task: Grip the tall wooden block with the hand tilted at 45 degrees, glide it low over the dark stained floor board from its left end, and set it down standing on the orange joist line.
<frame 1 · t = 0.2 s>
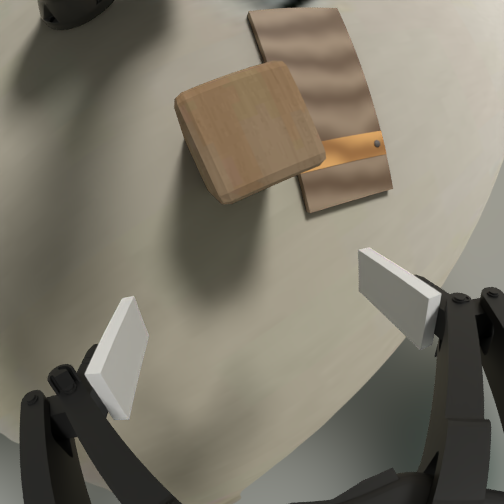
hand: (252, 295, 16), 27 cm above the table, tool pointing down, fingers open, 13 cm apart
wooden block: (228, 150, 40), on the table
floor board: (324, 97, 40), on the table
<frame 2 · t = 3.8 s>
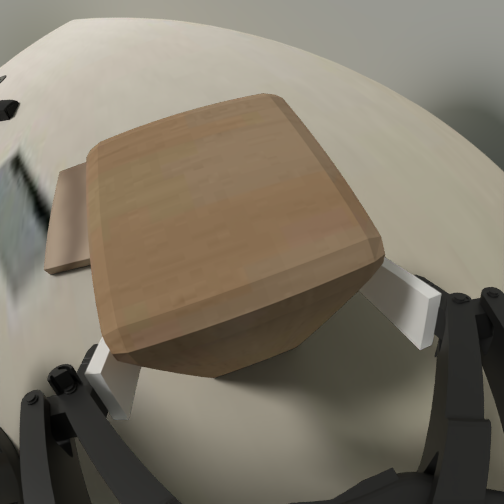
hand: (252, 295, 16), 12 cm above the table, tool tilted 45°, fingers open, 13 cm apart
wooden block: (237, 316, 28), on the table
floor board: (169, 189, 34), on the table
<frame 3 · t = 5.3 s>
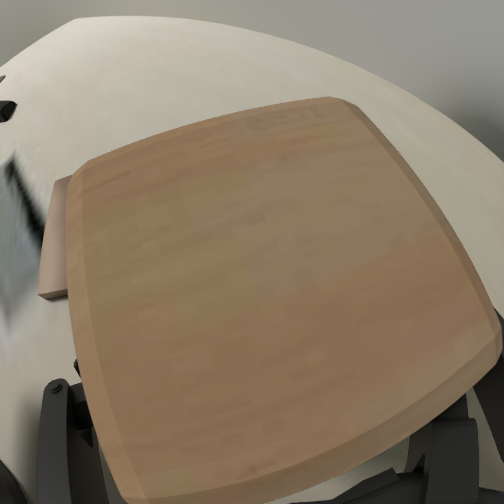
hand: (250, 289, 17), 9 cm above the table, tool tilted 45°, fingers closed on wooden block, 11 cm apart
wooden block: (259, 354, 24), on the table, touching gripper
floor board: (178, 204, 31), on the table
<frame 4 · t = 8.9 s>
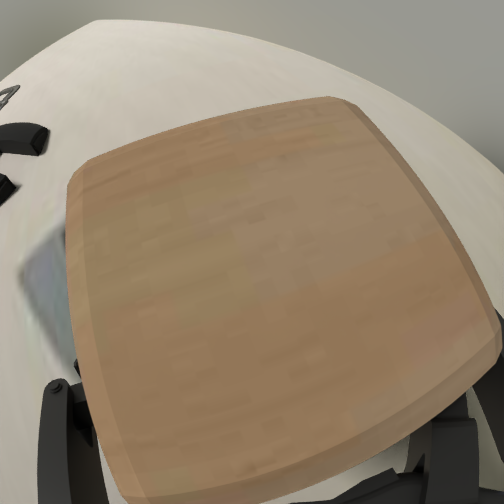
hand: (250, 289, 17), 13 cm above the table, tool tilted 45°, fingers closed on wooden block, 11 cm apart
wooden block: (259, 354, 24), point 3 cm above the table, touching gripper
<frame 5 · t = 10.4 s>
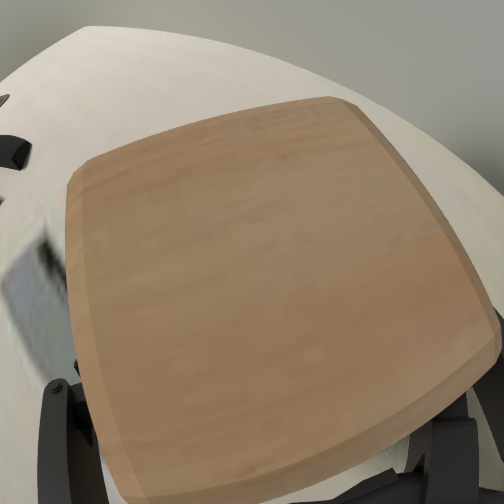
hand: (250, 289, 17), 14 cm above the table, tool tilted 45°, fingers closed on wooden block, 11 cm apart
wooden block: (259, 354, 24), point 5 cm above the table, touching gripper
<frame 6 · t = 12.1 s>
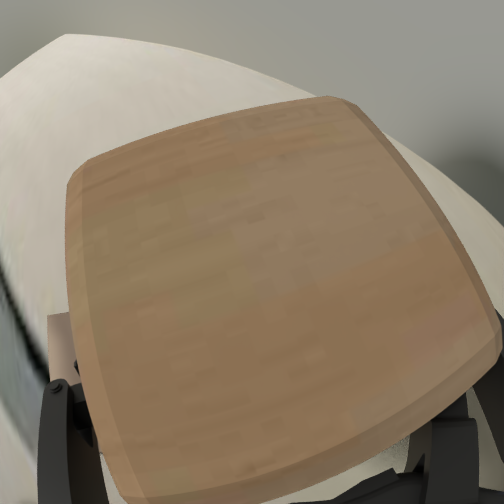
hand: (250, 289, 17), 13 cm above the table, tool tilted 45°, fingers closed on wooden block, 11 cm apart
wooden block: (259, 354, 24), point 4 cm above the table, touching gripper
floor board: (192, 371, 27), on the table
when the fingers open (12 cm above the table, at t = 14.2 s): wooden block stays where it is, resting on floor board.
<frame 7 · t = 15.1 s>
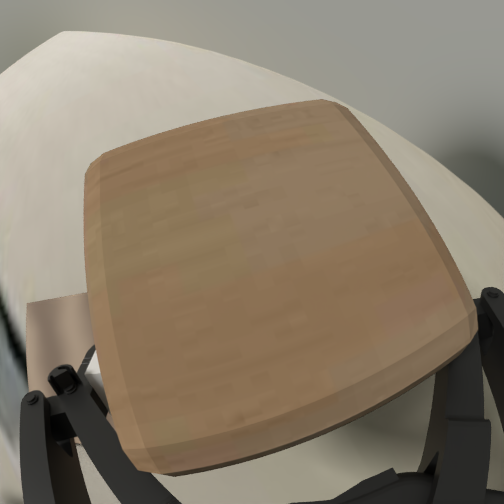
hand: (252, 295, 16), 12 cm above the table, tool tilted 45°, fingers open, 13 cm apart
wooden block: (257, 345, 25), point 1 cm above the table, touching floor board
floor board: (164, 362, 25), on the table
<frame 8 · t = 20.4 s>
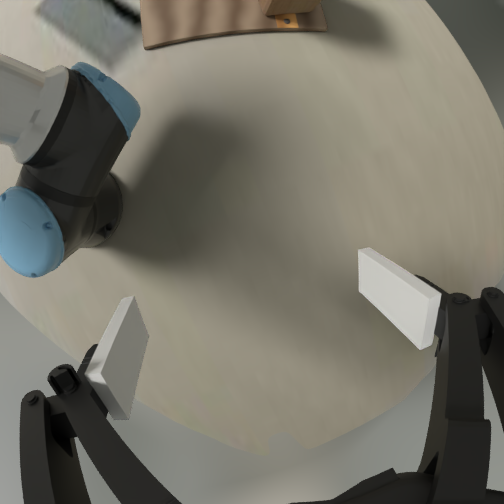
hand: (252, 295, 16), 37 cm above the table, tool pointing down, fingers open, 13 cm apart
floor board: (232, 1, 38), on the table
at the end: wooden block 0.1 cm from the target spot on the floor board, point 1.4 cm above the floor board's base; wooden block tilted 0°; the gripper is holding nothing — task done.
